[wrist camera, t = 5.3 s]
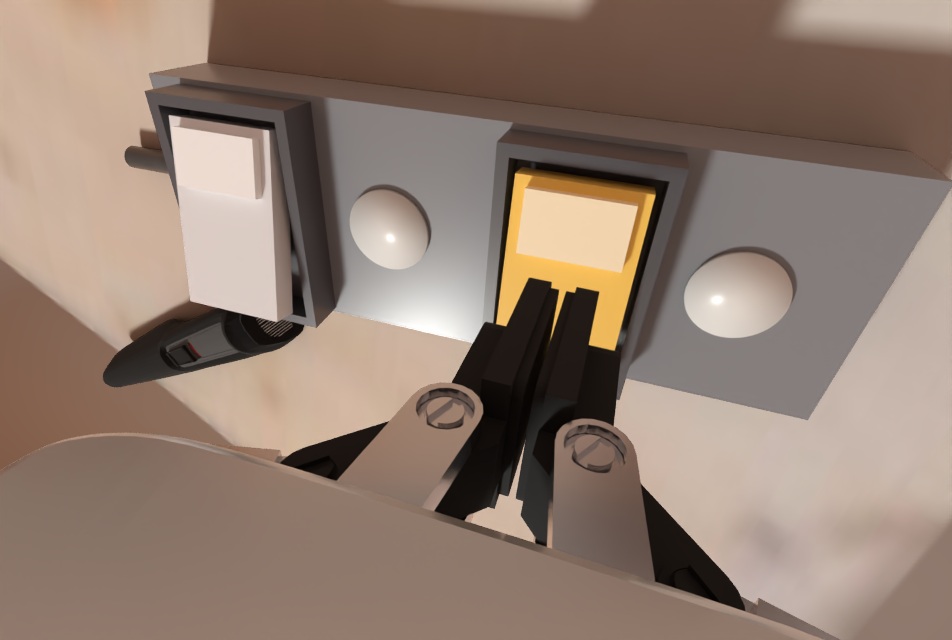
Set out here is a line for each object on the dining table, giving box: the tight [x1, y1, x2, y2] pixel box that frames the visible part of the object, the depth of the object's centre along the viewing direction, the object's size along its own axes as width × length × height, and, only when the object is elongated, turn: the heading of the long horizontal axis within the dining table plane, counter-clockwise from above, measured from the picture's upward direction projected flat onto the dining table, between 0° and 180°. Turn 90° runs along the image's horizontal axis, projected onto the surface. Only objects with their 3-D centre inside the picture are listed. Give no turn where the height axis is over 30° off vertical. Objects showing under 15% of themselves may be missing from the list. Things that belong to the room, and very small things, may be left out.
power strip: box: [125, 63, 952, 420], centre depth 20 cm, size 9×31×5 cm, turn 87°
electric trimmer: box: [103, 308, 304, 387], centre depth 30 cm, size 4×16×3 cm, turn 117°
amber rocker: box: [496, 167, 656, 351], centre depth 16 cm, size 7×4×1 cm, turn 177°
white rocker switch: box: [169, 115, 293, 322], centre depth 19 cm, size 7×4×1 cm, turn 177°
